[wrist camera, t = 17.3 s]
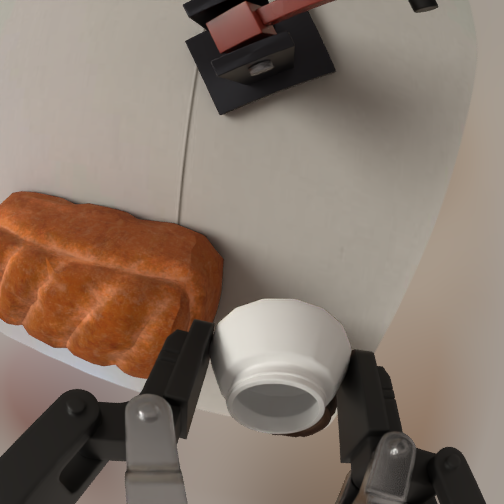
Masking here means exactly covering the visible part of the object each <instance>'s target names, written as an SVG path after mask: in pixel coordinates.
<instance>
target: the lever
mask: <svg viewBox="0 0 504 504" xmlns="http://www.w3.org/2000/svg"><path fill="white" fill-rule="evenodd" d="M332 1H335V0H275V1H273V2H271V3H269V4H267V5H265V6H263V7H262V6H260V5H257V4H254V3H251V2H248V1H244V2H242V3H241V4H239V5H237V6H235V7H233V8H231V9H229V10H228V11H226V12H224V13H222V14H221V15H219V16H217V17H215V18H214V19H212V20H210V21H209V22H207V23H206V26H207V28H208V30H209V32H210V34H211V36H212V38H213V40H214V42H215V44H216V46H217V48H218V50H219V52H220V54H223V53H230V52H232V51H235V50H237V49H239V48H242V47H244V46H247V45H249V44H251V43H254V42H256V41H259V40H262V39H264V38H267V37H269V36H272V35H275V34H277V33H276V31H275V29H274V27H273V25H274V24H276V23H279V22H281V21H283V20H286V19H288V18H290V17H293V16H295V15H298V14H300V13H303V12H305V11H308V10H310V9H313V8H315V7H318V6H321V5H324V4H326V3H329V2H332ZM408 1H409V3H410V5H411V7H412V9H413V11H414V12H416V13H419V12H426V11H430V10H433V9H436V8H438V4H437V2H436V0H408Z"/></svg>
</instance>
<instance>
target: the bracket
mask: <svg viewBox="0 0 504 504" xmlns="http://www.w3.org/2000/svg"><path fill="white" fill-rule="evenodd" d="M244 1H248V2H251V3H254V4H257V5H260V6H262V7H263V6H265V5H267V4H269V2H268V0H191V1H189V2H187V3H185V4H183V7H184V9H185V11H186V13H187V15H188V17H189V18H191V19H192V20H193V21H195V22H196V23H198V24H199V25H200V26H202V27H203V28H205V29H206V30H207V31H205V32H202V33H200V34H198V35H196V36H194V37H192V38H190V39H188V40H186V41H185V42H186V44H187V46H188V48H189V50H190V53H191V55H192V57H193V59H194V61H195V63H196V65H197V67H198V69H199V72H200V74H201V76H202V78H203V80H204V82H205V84H206V86H207V89H208V91H209V93H210V95H211V97H212V99H213V102H214V104H215V106H216V108H217V110H218V112H219V115H223V114H225V113H228V112H230V111H232V110H234V109H237V108H239V107H241V106H244V105H246V104H249V103H251V102H254V101H256V100H258V99H261V98H263V97H266V96H269V95H271V94H274V93H276V92H279V91H282V90H284V89H287V88H290V87H293V86H295V85H298V84H301V83H304V82H307V81H310V80H313V79H316V78H319V77H322V76H325V75H328V74H331V73H334V72H336V70H335V68H334V65H333V63H332V61H331V58H330V56H329V54H328V52H327V50H326V47H325V45H324V43H323V41H322V39H321V37H320V35H319V33H318V30H317V28H316V26H315V24H314V22H313V20H312V18H311V16H310V14H309V12H308V11H305V12H303V13H300V14H298V15H295V16H293V17H290V18H288V19H286V20H283V21H281V22H279V23H276V24H274V25H273V27H274V29H275V31H276V33H277V34H275V35H272V36H269V37H267V38H264V39H262V40H259V41H256V42H254V43H251V44H249V45H247V46H244V47H242V48H239V49H237V50H235V51H232V52H230V53H223V54H220V52H219V50H218V48H217V46H216V44H215V42H214V40H213V38H212V36H211V34H210V32H209V30H208V28H207V26H206V23H207V22H209V21H210V20H212V19H214V18H215V17H217V16H219V15H221V14H222V13H224V12H226V11H228V10H229V9H231V8H233V7H235V6H237V5H239V4H241V3H242V2H244Z"/></svg>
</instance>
